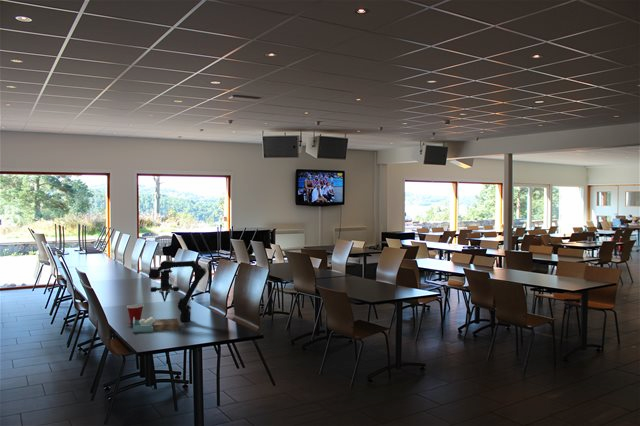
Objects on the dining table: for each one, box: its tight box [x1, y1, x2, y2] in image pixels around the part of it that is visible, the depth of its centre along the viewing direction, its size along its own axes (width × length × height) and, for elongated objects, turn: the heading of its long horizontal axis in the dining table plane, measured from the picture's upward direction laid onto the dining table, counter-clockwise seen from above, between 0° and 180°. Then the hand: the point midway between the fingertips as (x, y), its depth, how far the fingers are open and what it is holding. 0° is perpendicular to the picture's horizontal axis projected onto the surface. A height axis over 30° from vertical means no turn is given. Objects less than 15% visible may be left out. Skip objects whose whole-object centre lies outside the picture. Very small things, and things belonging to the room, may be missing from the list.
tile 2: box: [145, 316, 155, 325], centre depth 340 cm, size 5×5×3 cm
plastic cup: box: [126, 303, 145, 325], centre depth 355 cm, size 11×11×12 cm
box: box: [132, 317, 154, 334], centre depth 339 cm, size 12×18×6 cm, turn 19°
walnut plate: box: [153, 317, 180, 332], centre depth 344 cm, size 16×16×4 cm
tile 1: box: [139, 318, 146, 326], centre depth 339 cm, size 5×5×3 cm
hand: (164, 301), depth 364 cm, fingers closed
